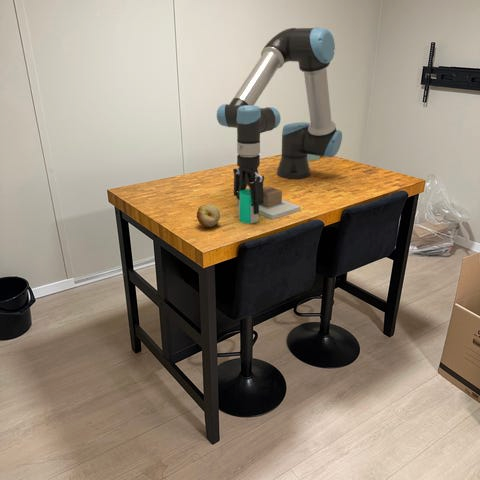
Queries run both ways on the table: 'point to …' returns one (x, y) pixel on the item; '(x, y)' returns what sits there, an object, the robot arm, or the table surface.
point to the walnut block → (271, 197)
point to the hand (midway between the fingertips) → (248, 219)
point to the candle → (245, 206)
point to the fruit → (208, 215)
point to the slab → (278, 210)
